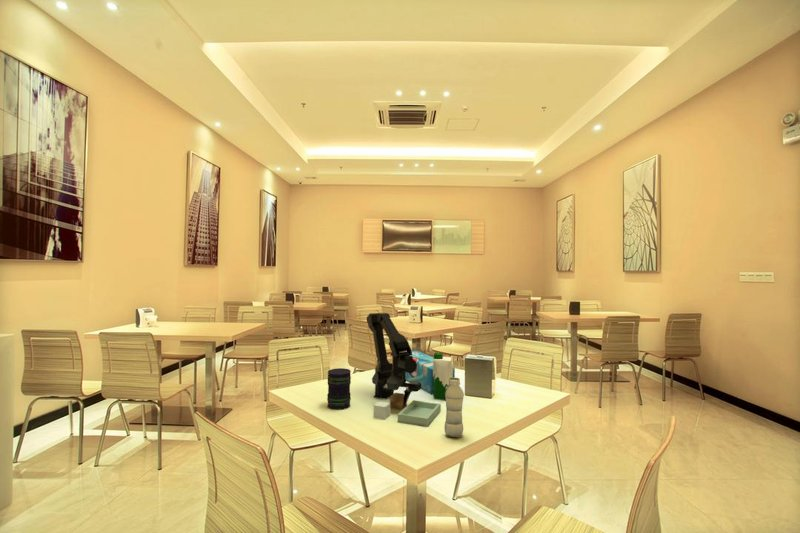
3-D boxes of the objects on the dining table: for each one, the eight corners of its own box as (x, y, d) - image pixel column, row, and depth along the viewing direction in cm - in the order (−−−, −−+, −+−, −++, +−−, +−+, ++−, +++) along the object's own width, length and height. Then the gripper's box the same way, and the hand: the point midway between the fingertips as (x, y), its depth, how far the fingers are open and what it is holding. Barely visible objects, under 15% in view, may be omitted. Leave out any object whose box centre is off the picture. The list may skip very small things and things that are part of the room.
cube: (373, 418, 155) (373, 405, 155) (378, 413, 159) (378, 401, 159) (385, 419, 153) (385, 406, 153) (390, 415, 158) (390, 403, 158)
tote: (397, 422, 150) (397, 414, 150) (413, 407, 167) (413, 400, 167) (427, 426, 146) (427, 418, 146) (440, 411, 163) (440, 403, 163)
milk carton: (434, 393, 186) (434, 351, 187) (453, 395, 184) (453, 352, 185) (431, 399, 178) (432, 355, 178) (451, 401, 176) (452, 356, 176)
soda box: (395, 375, 221) (395, 352, 221) (417, 372, 227) (417, 350, 227) (431, 395, 184) (431, 368, 185) (455, 392, 190) (455, 365, 190)
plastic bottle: (442, 432, 141) (443, 376, 142) (461, 431, 142) (461, 376, 142) (446, 439, 135) (446, 381, 135) (465, 439, 135) (465, 381, 136)
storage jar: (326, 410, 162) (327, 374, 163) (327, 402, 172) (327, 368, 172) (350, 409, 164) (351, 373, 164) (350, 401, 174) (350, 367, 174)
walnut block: (390, 408, 166) (390, 396, 166) (395, 404, 171) (395, 392, 171) (402, 409, 164) (402, 397, 164) (406, 405, 169) (406, 394, 169)
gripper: (371, 369, 164) (370, 407, 163) (413, 374, 157) (412, 413, 157) (382, 364, 174) (381, 399, 174) (421, 368, 167) (421, 405, 167)
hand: (398, 404), depth 168 cm, fingers closed on walnut block, 5 cm apart
